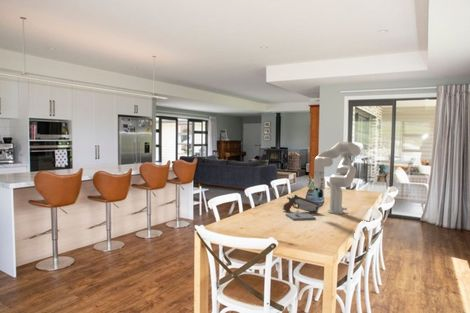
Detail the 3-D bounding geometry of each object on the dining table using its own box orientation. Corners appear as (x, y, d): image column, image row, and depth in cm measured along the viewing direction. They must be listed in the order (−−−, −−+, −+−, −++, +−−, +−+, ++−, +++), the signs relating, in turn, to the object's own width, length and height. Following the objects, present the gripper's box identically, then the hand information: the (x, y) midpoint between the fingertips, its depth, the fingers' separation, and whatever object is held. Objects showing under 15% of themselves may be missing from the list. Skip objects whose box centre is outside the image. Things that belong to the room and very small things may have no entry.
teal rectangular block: (320, 196, 260) (320, 190, 260) (323, 197, 255) (323, 191, 255) (313, 196, 259) (313, 190, 259) (316, 198, 254) (317, 191, 253)
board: (306, 214, 265) (306, 207, 265) (315, 219, 250) (315, 212, 249) (285, 215, 261) (285, 208, 261) (293, 220, 246) (293, 213, 245)
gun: (314, 221, 270) (320, 204, 268) (282, 209, 274) (288, 192, 273) (314, 219, 274) (320, 202, 273) (282, 208, 279) (288, 191, 277)
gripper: (329, 174, 248) (328, 198, 249) (318, 172, 265) (317, 194, 266) (319, 175, 246) (319, 198, 248) (309, 172, 263) (309, 194, 264)
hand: (318, 196), depth 257 cm, fingers closed on teal rectangular block, 5 cm apart
